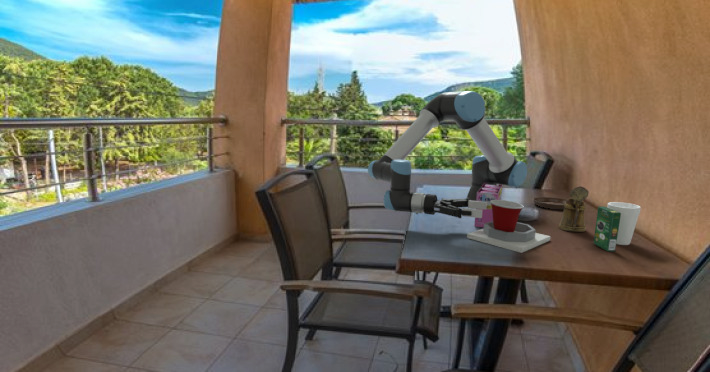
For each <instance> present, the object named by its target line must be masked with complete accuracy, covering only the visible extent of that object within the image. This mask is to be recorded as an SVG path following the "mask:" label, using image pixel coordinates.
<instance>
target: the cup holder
mask: <svg viewBox="0 0 710 372" xmlns="http://www.w3.org/2000/svg"><path fill="white" fill-rule="evenodd" d="M466 238H467V239H468V240H469V239H470V240H474V241H478V242H480V243H484V244H489V245H491V246H496V247H500V248H503V249H505V250H509V251H514V252H517V253H525V252H527V251H529V250H531V249H534V248H537V247H539V246H541V245H543V244H545V243H547V242H550V241H551V236H550V235H546V234H543V233H542V234H541V233H537V231H536V229H535V228H534V227H533V226H531V224H528V223H523V222H518V221H517V224H516V228H515V230H514V232H505V231H501V230H496V229H494V226H493V221H491V222H487V223H484V227H482V228H481V229H477V230H474V231H472V232H471V231H470V232H468V233H466Z"/></svg>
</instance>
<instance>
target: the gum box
mask: <svg viewBox="0 0 710 372" xmlns="http://www.w3.org/2000/svg"><path fill="white" fill-rule="evenodd" d="M502 194H503V185H502V184H498V185H497V184H496V185H488V184H487V183H484V184H483V185H482V187H481V188H480V189H479V190H478V192H477V198H476V201H481V202H487V209H486V210H485V209H478V210H482V218H475V217H474V224H473V225H474V226H473V227H478V228H484V223H487V222H491V221H493V213H492V205H491V203H490V201H491V200H502Z"/></svg>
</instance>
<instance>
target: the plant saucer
mask: <svg viewBox="0 0 710 372" xmlns="http://www.w3.org/2000/svg"><path fill="white" fill-rule="evenodd" d="M566 200H567V199H566V198H558V197H552V196H551V197H548V196H547V197H545V196H541V197H540V196H539V197H534V198H532V201H533V202H534V204H535V205H536V206H537V205H538V206H537V207H539V206H540V208H543V207H544V209H548V208H550V209H549V210H564V208H565V207H564V205H565V203H566ZM543 202H553V203H560V204H549V203H543Z"/></svg>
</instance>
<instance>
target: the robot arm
mask: <svg viewBox="0 0 710 372" xmlns="http://www.w3.org/2000/svg"><path fill="white" fill-rule="evenodd" d="M485 105H486V102H485V99H484V97H483V96H482V95H481V94H480V93H478V92H476V91H470V90H462V91H446V92H442V93H440V94H438V95H437V96H435V97H433V98H432V99H431V100H430V101H429V102H428V103H426V104H425V105H424V107H422V109H420V111H419V116H418V117H417V118H416V119H415V120H414V121H413V123H411V125H409V127H408V128H406V130H404V132H403V133H402V134H401V135H400V136H399V138H398V139H396V141H395V142H394V143H393V144H392V145H391V146H390V148H388V150H387V151H386V152H385V153H384V154H383V155H382V157H380V158H379V159H378V160H377V159H376V160H373V161H371V162H370V163H369V164H368V167H367V172H368V175H369V176H370V177H371V178H372V179H375V180H377V181H383V182H386V183H390V186H389V187H390V189H389V190H386V191H385V192H384V193H383V196H384V197H383V205H384V208H385V209H387V210H389V211H390V210H391V211H395V212H406V213H415V215H419V214H425V215H432V216H434V215H435V214H436V213H437V214H442V215H445V216H446V215H447V216H451V217H455V218H458V219H462V217H468V218H474V219H475V218H482V210H478V209H485V210H486V209H487V202H481V201H476V198H477V192H478V190H479V189H480V188H481V187H482V185H483V184H484V183H487V184H488V185H496V186H497V185H499V184H502V186H506V187H510V188H519V187H520V186H522V185H523V183H524V182H525V181H526V179H527V176H528V175H527V174H528V166H527V164H526V163H525V162H524V161H522V160H519V161H518V160H517V159H516V157H515V155H514V154H513V153H512V152H509V151H507V150H506V148H505V147H504V146H503V144H502V142H501V141H500V140H499V138H498V137H497V135H496V134H495V133H494V131H493V129H492V127H491V126H490V125H489V123H488V121H487V120H486V119H485V116H486V106H485ZM447 121H451V122H452V121H454V122H455V123H456V124H457V125H456V126H458V128H459V129H460V130H463V131H466V132H467V134H468V135H469V136H470V138H471V139H472V140H473V142H474V143H475V145H476V146H477V149H479V151H480V152H481V153H482V155H476V156H474V157H473V158H472V163H471V180H470V181H471V182H470V183H471V184H470V188H469V190H468V192H467V195H466V198H441V199H440V200H438V196H437V194H434V193H424V192H411V184H412V183H411V179H412V163H411V161H410V160H409V159H406V158H407V157H408V156H409V155H410V154H411V153H412V152H413V150H414V149H415V148H416V147H417V146H418V145H419V144H420V143H421V142H422V140H423V139H425V137H426V136H427V134H429V133H430V131H431V130H432V129H433V128H437V127H438V126H439V125H440V124H441V123H443V122H447Z"/></svg>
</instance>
